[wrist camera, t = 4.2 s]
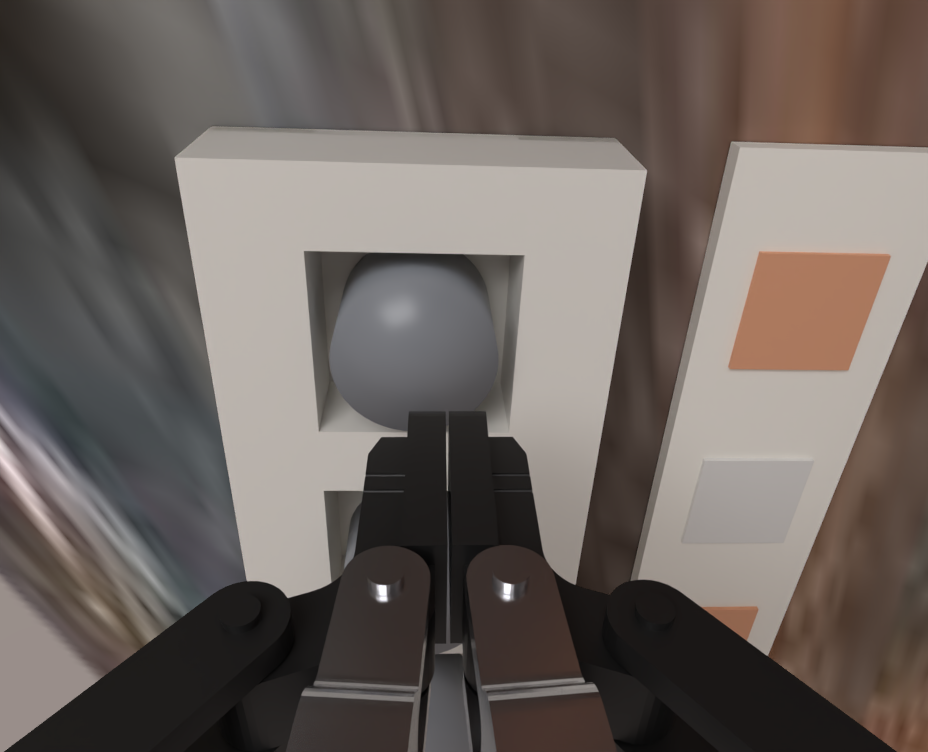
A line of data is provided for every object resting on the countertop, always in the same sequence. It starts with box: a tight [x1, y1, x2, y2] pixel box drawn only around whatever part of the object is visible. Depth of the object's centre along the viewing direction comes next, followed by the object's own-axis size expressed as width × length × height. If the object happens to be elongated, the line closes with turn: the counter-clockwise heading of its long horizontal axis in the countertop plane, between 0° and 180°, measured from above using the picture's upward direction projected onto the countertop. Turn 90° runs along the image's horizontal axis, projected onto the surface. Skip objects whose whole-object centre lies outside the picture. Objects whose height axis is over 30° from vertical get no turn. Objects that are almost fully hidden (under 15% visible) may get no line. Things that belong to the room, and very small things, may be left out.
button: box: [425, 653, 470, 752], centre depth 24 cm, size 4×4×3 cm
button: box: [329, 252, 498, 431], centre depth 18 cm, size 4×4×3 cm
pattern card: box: [630, 142, 928, 656], centre depth 24 cm, size 6×23×1 cm, turn 178°
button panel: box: [175, 126, 647, 656], centre depth 22 cm, size 10×23×3 cm, turn 178°
